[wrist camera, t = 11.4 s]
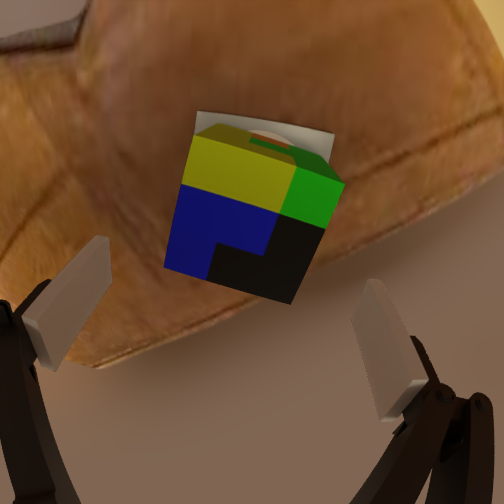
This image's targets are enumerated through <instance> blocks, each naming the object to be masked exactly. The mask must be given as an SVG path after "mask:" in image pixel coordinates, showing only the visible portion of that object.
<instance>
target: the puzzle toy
mask: <svg viewBox="0 0 504 504" xmlns="http://www.w3.org/2000/svg"><path fill="white" fill-rule="evenodd" d="M344 186H345V184H344V182H343V181H342V180H341V179H340V178H339V176H338V175H337V174H336V173H335V172H334V170H333V169H332V168H331V167H330V166H329V165H328V163H327V162H326V161H325V160H324V159H323V158H322V156H320V155H317V154H315V153H312V152H309V151H306V150H304V149H301V148H298V147H295V146H292V145H289V144H286V143H284V142H281V141H278V140H275V139H272V138H268V137H265V136H262V135H259V134H256V133H253V132H249V131H246V130H243V129H239V128H236V127H233V126H229V125H226V124H222V123H217V124H215V125H213V126H211V127H209V128H207V129H205V130H203V131H201V132H199V133H197V134H195V135H194V136H193V140H192V143H191V147H190V151H189V155H188V158H187V162H186V166H185V170H184V174H183V178H182V183H181V187H180V191H179V195H178V200H177V204H176V208H175V213H174V217H173V222H172V227H171V232H170V236H169V241H168V246H167V251H166V257H165V262H164V268H167V269H170V270H173V271H177V272H180V273H183V274H186V275H190V276H193V277H196V278H199V279H203V280H206V281H209V282H213V283H216V284H219V285H223V286H226V287H229V288H233V289H236V290H240V291H243V292H247V293H250V294H254V295H257V296H261V297H264V298H268V299H271V300H275V301H278V302H282V303H286V304H289V305H290V304H291V303H292V300H293V298H294V296H295V294H296V292H297V290H298V288H299V286H300V284H301V282H302V280H303V278H304V275H305V273H306V271H307V269H308V267H309V265H310V263H311V260H312V258H313V256H314V254H315V252H316V250H317V247H318V245H319V243H320V241H321V239H322V236H323V234H324V232H325V230H326V227H327V225H328V223H329V221H330V218H331V216H332V214H333V211H334V209H335V207H336V205H337V202H338V200H339V198H340V195H341V193H342V190H343V188H344Z"/></svg>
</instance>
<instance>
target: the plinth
mask: <svg viewBox="0 0 504 504" xmlns="http://www.w3.org/2000/svg"><path fill="white" fill-rule="evenodd" d="M217 123H222V124H226V125H229V126H233V127H236V128H239V129H243V130H246V131H249V132H253V133H256V134H259V135H262V136H265V137H268V138H272V139H275V140H278V141H281V142H284V143H286V144H289V145H292V146H295V147H298V148H301V149H304V150H306V151H309V152H312V153H315V154H317V155H320V156H322V158H323V159H324V160H325V161H326V162H327V163H329V159H330V154H331V150H332V145H333V141H334V136H335V134H333V133H331V132H328V131H323V130H319V129H314V128H310V127H305V126H300V125H295V124H290V123H285V122H280V121H274V120H268V119H262V118H256V117H250V116H243V115H236V114H229V113H221V112H212V111H203V110H201V111H197V116H196V123H195V131H194V135H195V134H197V133H199V132H201V131H203V130H205V129H207V128H209V127H211V126H213V125H215V124H217Z"/></svg>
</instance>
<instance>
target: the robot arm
mask: <svg viewBox="0 0 504 504" xmlns="http://www.w3.org/2000/svg"><path fill="white" fill-rule="evenodd" d="M112 282H113V281H112V271H111V259H110V245H109V237H106V236H101V235H95V236H94V237H93V238H92V239H91V240H90V241H89V242H88V243H87V244H86V245H85V246H84V247H83V248H82V249H81V250H80V251H79V252H78V253H77V254H76V256H75V257H74V258H73V259H72V260H71V261H70V262H69V263H68V264H67V265H66V266H65V267H64V268H63V269H62V270H61V271H60V272H59V273H58V275H57V276H56V277H55V278H54V279H53V280H50V279H47V280H45V281H43V282H41V283H40V284H38V285H37V286H36V288H35V289H34V290H33V291H32V293H30V294H29V295H28V296H27V298H26V299H25V300H24V301H23V302H22V303H21V304H20V306H19V307H18V308H17V309H16V310H15V311H14V313H13V312H12V309H11V306H10V303H9V302H7V301H6V300H2V299H0V440H1V445H2V449H3V454H4V458H5V462H6V465H7V469H8V473H9V476H10V479H11V483H12V486H13V489H14V492H15V500H14V501H13V504H81V502H80V500H79V498H78V496H77V494H76V491H75V489H74V487H73V485H72V482H71V480H70V478H69V475H68V473H67V471H66V468H65V466H64V463H63V461H62V458H61V455H60V452H59V450H58V447H57V444H56V441H55V438H54V435H53V432H52V429H51V426H50V423H49V420H48V416H47V413H46V409H45V406H44V402H43V398H42V394H41V390H40V386H39V382H38V378H37V373H36V368H35V366H34V364H33V363H34V361H35V360H36V358H37V357H38V360H39V362H40V364H41V366H42V367H45V368H47V369H50V370H52V371H55V372H56V371H57V369H58V367H59V365H60V364H61V362H62V360H63V359H64V357H65V355H66V354H67V352H68V350H69V349H70V347H71V345H72V344H73V342H74V340H75V339H76V337H77V336H78V334H79V332H80V331H81V329H82V328H83V326H84V324H85V323H86V321H87V320H88V318H89V317H90V315H91V314H92V312H93V311H94V309H95V308H96V306H97V305H98V303H99V302H100V300H101V299H102V297H103V296H104V294H105V293H106V291H107V290H108V288H109V287H110V285H111V284H112ZM351 322H352V325H353V328H354V331H355V334H356V338H357V341H358V344H359V348H360V351H361V354H362V358H363V361H364V365H365V368H366V372H367V375H368V379H369V382H370V386H371V390H372V394H373V397H374V401H375V405H376V409H377V413H378V417H379V421H380V422H385V421H395V420H396V419H397V418H398V417H399V416H400V415H401V413H403V417H404V421H403V422H402V423H401V424H400V425H399V426H398V428H397V429H396V430H395V431H394V432H393V434H395V435H394V437H393V439H392V440H391V442H390V444H389V445H388V447H387V449H386V451H385V452H384V454H383V455H382V457H381V458H380V460H379V462H378V463H377V465H376V466H375V468H374V469H373V471H372V472H371V474H370V475H369V477H368V478H367V480H366V481H365V483H364V484H363V486H362V487H361V488H360V490H359V491H358V493H357V494H356V495H355V497H354V498H353V500H352V501H351V502H350V504H415V502H416V500H417V498H418V496H419V494H420V492H421V490H422V488H423V486H424V484H425V482H426V480H427V478H428V476H429V474H430V471H431V469H432V473H431V478H430V483H429V488H428V493H427V498H426V501H425V504H491V503H492V493H493V479H494V419H493V407H492V403H491V401H490V399H489V398H488V397H487V396H486V395H484V394H482V393H479V392H477V393H474V394H473V395H472V396H471V397H470V398H469V399H464V398H459V397H456V395H455V392H454V391H453V390H452V388H450V387H449V386H448V385H445V384H443V383H440V381H439V379H438V377H437V374H436V372H435V370H434V368H433V366H432V363H431V362H430V360H429V357H428V355H427V354H426V351H425V349H424V347H423V344H422V343H421V342H420V341H419V340H418V339H417V338H416V337H415V336H409V334H408V332H407V330H406V328H405V326H404V324H403V322H402V320H401V318H400V315H399V313H398V311H397V309H396V307H395V306H394V304H393V302H392V300H391V298H390V296H389V294H388V292H387V290H386V288H385V286H384V284H383V282H382V281H381V280H377V279H371V278H368V280H367V283H366V285H365V288H364V290H363V292H362V295H361V297H360V300H359V302H358V305H357V307H356V309H355V312H354V314H353V316H352V319H351Z"/></svg>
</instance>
